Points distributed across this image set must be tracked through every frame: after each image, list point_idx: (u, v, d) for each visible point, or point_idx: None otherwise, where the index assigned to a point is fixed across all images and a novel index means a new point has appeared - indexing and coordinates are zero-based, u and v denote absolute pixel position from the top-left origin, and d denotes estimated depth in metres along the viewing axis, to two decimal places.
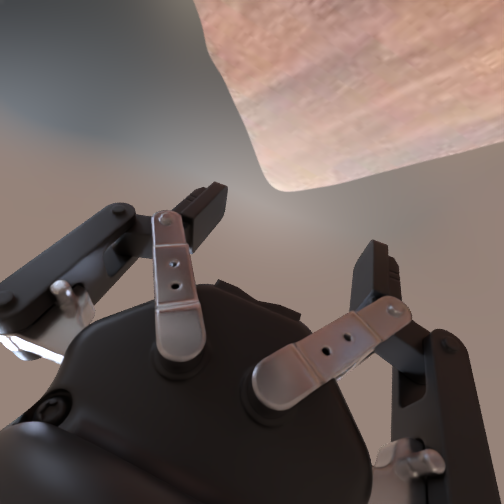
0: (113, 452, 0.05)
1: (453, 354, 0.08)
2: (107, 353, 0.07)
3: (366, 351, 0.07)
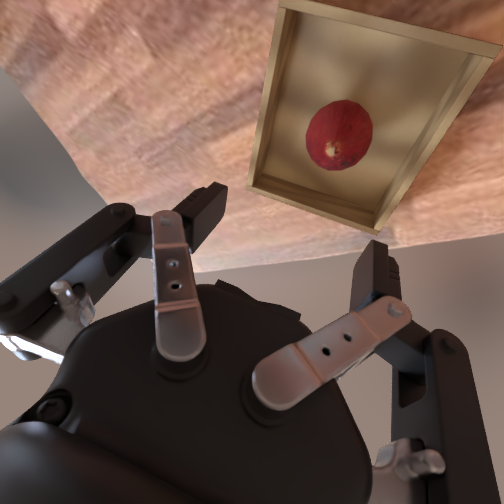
0: (113, 452, 0.05)
1: (453, 354, 0.08)
2: (107, 353, 0.07)
3: (366, 351, 0.07)
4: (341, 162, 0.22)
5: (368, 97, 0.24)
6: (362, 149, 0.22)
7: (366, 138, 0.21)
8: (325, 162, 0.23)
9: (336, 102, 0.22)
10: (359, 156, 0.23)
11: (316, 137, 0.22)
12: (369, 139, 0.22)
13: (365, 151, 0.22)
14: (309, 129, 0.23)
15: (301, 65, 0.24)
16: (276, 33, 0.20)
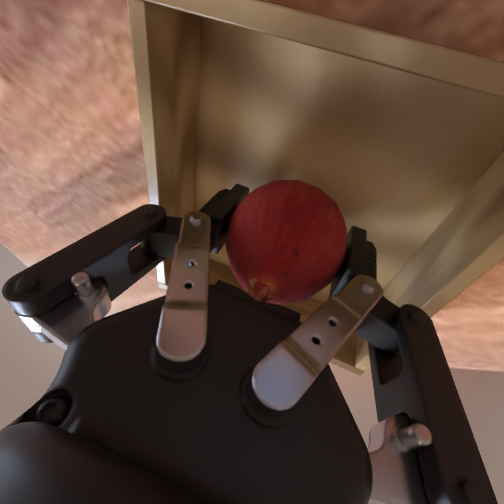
0: (113, 452, 0.05)
1: (419, 326, 0.09)
2: (105, 353, 0.07)
3: (351, 332, 0.08)
4: (284, 303, 0.11)
5: (342, 166, 0.13)
6: (325, 281, 0.11)
7: (331, 265, 0.11)
8: None
9: (274, 189, 0.11)
10: (321, 288, 0.12)
11: (234, 257, 0.11)
12: (338, 262, 0.11)
13: (331, 279, 0.12)
14: (228, 232, 0.12)
15: (223, 106, 0.14)
16: (138, 55, 0.10)
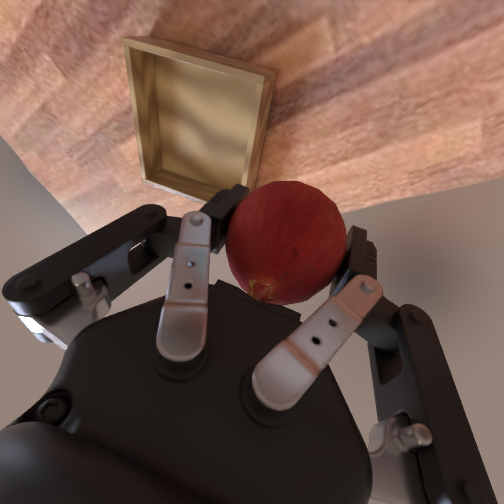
0: (113, 452, 0.05)
1: (419, 326, 0.09)
2: (105, 353, 0.07)
3: (351, 332, 0.08)
4: (283, 304, 0.11)
5: (216, 109, 0.31)
6: (324, 282, 0.11)
7: (330, 266, 0.11)
8: None
9: (273, 190, 0.11)
10: (320, 289, 0.12)
11: (234, 258, 0.11)
12: (337, 263, 0.11)
13: (330, 280, 0.12)
14: (228, 233, 0.12)
15: (166, 84, 0.32)
16: (128, 63, 0.28)
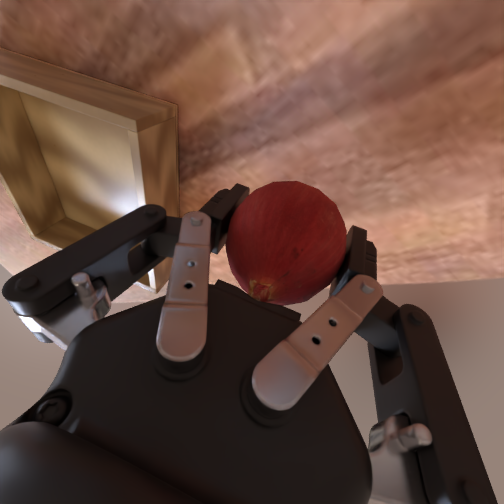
0: (113, 452, 0.05)
1: (419, 326, 0.09)
2: (105, 353, 0.07)
3: (351, 332, 0.08)
4: (283, 304, 0.11)
5: (109, 151, 0.22)
6: (324, 283, 0.11)
7: (331, 266, 0.11)
8: None
9: (274, 191, 0.11)
10: (321, 289, 0.12)
11: (234, 258, 0.11)
12: (338, 263, 0.11)
13: (330, 280, 0.12)
14: (228, 233, 0.12)
15: (38, 115, 0.22)
16: None
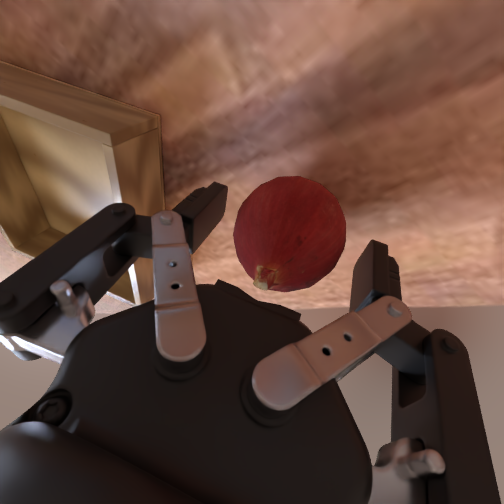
0: (113, 452, 0.05)
1: (453, 354, 0.08)
2: (107, 353, 0.07)
3: (366, 351, 0.07)
4: (287, 290, 0.12)
5: (91, 162, 0.21)
6: (325, 270, 0.12)
7: (331, 254, 0.12)
8: None
9: (279, 184, 0.12)
10: (322, 276, 0.13)
11: (242, 247, 0.12)
12: (338, 252, 0.12)
13: (331, 268, 0.13)
14: (236, 224, 0.13)
15: (16, 122, 0.21)
16: None
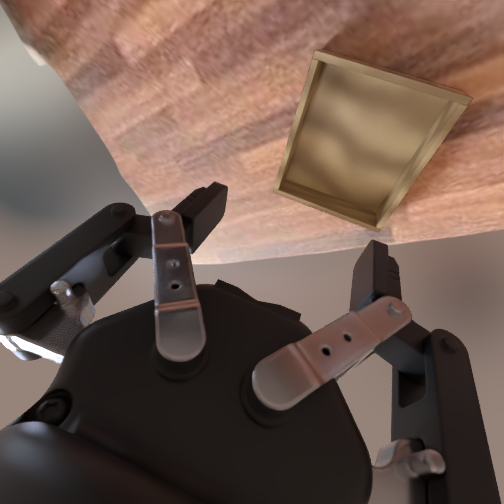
0: (113, 452, 0.05)
1: (453, 354, 0.08)
2: (107, 353, 0.07)
3: (366, 351, 0.07)
4: None
5: (375, 124, 0.31)
6: None
7: None
8: None
9: None
10: None
11: None
12: None
13: None
14: None
15: (324, 97, 0.31)
16: (309, 76, 0.27)
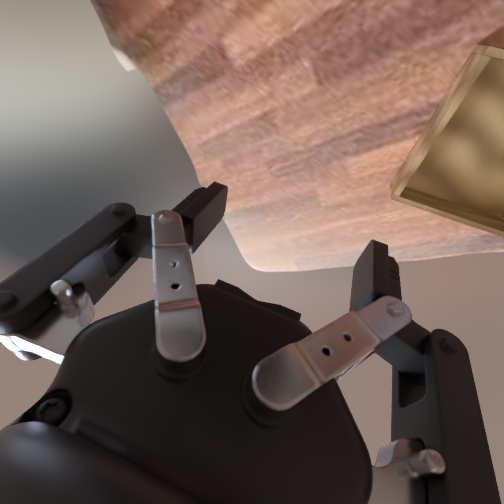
0: (113, 452, 0.05)
1: (453, 354, 0.08)
2: (107, 353, 0.07)
3: (366, 351, 0.07)
4: None
5: None
6: None
7: None
8: None
9: None
10: None
11: None
12: None
13: None
14: None
15: (468, 96, 0.29)
16: (474, 75, 0.25)
